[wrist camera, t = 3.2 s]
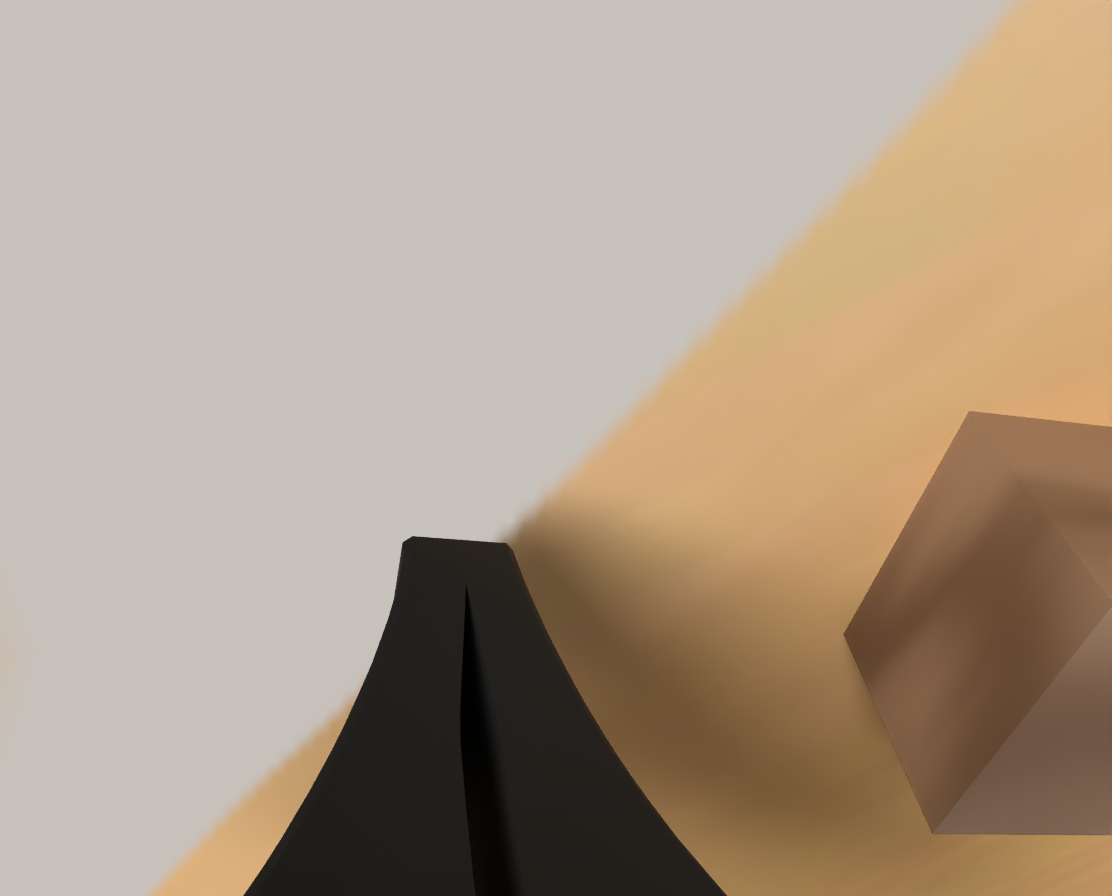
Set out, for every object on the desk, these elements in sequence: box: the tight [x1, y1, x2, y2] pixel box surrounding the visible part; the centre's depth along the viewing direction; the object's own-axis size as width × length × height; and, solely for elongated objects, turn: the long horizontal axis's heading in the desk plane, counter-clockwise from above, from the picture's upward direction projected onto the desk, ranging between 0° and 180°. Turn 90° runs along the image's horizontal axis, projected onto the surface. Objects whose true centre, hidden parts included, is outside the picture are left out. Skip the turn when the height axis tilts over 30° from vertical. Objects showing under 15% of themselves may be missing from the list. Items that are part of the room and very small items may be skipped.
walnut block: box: [844, 411, 1112, 835], centre depth 15 cm, size 5×5×4 cm
